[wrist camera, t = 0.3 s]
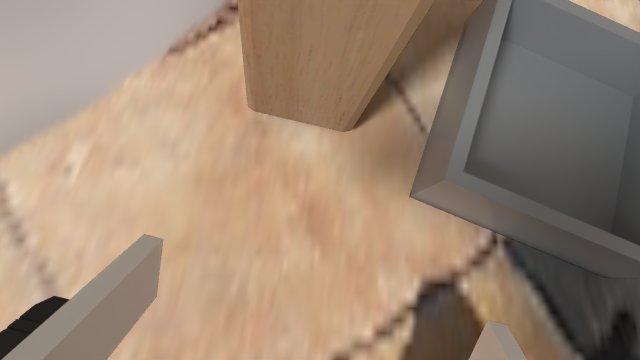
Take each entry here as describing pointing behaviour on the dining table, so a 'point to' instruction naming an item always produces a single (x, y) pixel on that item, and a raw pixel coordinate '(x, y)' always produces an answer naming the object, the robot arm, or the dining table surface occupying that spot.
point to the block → (322, 54)
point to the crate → (542, 133)
